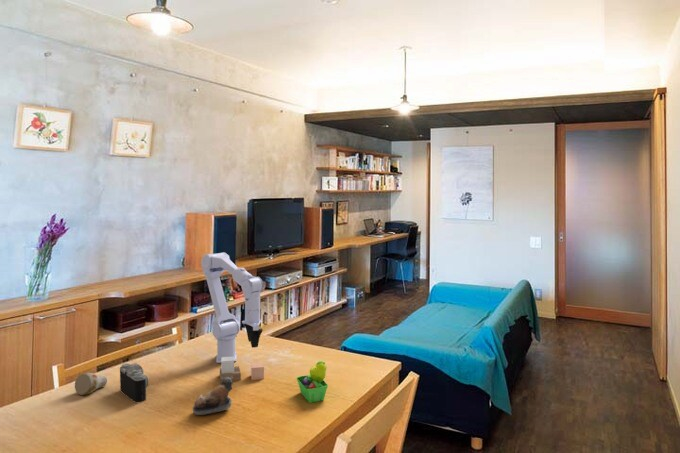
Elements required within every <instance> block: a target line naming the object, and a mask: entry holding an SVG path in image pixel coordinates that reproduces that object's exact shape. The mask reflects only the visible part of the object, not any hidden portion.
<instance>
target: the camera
mask: <svg viewBox="0 0 680 453" xmlns="http://www.w3.org/2000/svg"><path fill="white" fill-rule="evenodd" d="M149 382H150V381H149V378H148V376H147V375H146V374H144V369H143V367H142V365H140V364H139V363H137V362H134V363H123V364H122V365H121V366H120V367H119V383H120V384H119V385H120V387H119V388H120V390H121V391H122V392H123V393H124V394H125V395H124V394H123V393H122V392H121V393H122V394H123V395H124V396H126V395H127V396H128V397H127V396H126V397H127V398H128V399H130V400H131V399H132V400H131V401H133V402H134V401H135V402H140V403H144V402H145V401H146V400H147V393H146V392H147V387H148V386H149V384H150V383H149ZM135 402H134V403H135Z"/></svg>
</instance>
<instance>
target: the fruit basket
mask: <svg viewBox="0 0 680 453" xmlns="http://www.w3.org/2000/svg"><path fill="white" fill-rule="evenodd" d="M326 371H327V366H326V362H324V361H323V360H318V362H317V363H316V364H315V365H314V366H312V367H311V368H310V369H309V374H306V375H301V376H297V377H296V381H297V383H298V387H299V391H300V393H301V395H302V396H303V397H304V398H305V400H306V401H307V402H308V403H309V404H311V403H315V402H320V401H325V398H326V392H327V389H328V387H329V384H328V383H327V382H326V381H325V378H326V377H327V376H326V375H327V374H326V373H327V372H326Z"/></svg>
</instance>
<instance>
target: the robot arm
mask: <svg viewBox="0 0 680 453" xmlns="http://www.w3.org/2000/svg"><path fill="white" fill-rule="evenodd" d="M200 265H201V268H202V271H203V275H204V276H205V279H206V283H207V286H208V290H209V293H210V298H211V301H212V302H211V303H212V305H213V306H212V307H213V309H214V313H215V318H214V319H213V320H212V322H211V326H212V329H211V332H212V333H211V334H212V336H213V337H214V339H215V340H216V351H217V352H216V353H217V354H216V356H215V357H216V360H215V363H216V364H219V363H220V364H221V358H222V357H231V356H234V362H237V361H238V360H237V358H238V357H237V352H236V338H237V335H238V334H239V333H240V323H239V322H238V320H237V318H236V315H235V314H232V313H231V312H230V311H229V308H228V304H227V301H226V297H225V293H224V288H223V285H222V282H221V278H220V277H221V275H222V274H223V273H224V272H225V271H226V272H227V273H229V274H230V275H232V276H231V277H232V280H233V281H235V282H236V284H238V285H239V286H241V290H242V293H243V298H244V313H245V314H244V320H242V321H241V324H243V326H244V327H245V330H246V336H247V339H248V343H249V342H250V346H251V348H252V349H253V348H258V346H259V342H260V338H261V335H262V333H263V331H264V330H263V328H259V326H260V324H261V322H262V319H261V292H262V291H263V289H264V282H263V279H262V278H261V277H260V276H253V275H252V273H250V272H248V271H247V270H246V268H245V267H238V266H237V265H236V264H235V263H234V262H233V261H232V260H231V258H230V254H227V253H226V252H224V251H223V252H219V253H209V254H208V253H205V254H203V256H202V259H201V262H200Z"/></svg>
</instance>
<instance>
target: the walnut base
mask: <svg viewBox="0 0 680 453" xmlns="http://www.w3.org/2000/svg"><path fill="white" fill-rule="evenodd" d="M241 375H242V374H241V369H240V365H238V366H234V373H224V374H221V367H220V368H219V378H220V379H219V380H220V383H221V382H222V377H223V378H225V377H230V378H232V377H233V379H232V382H234V381H241V379H242V378H241V377H242V376H241ZM231 376H232V377H231Z"/></svg>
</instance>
